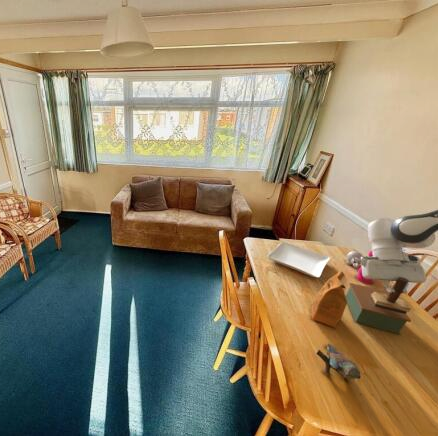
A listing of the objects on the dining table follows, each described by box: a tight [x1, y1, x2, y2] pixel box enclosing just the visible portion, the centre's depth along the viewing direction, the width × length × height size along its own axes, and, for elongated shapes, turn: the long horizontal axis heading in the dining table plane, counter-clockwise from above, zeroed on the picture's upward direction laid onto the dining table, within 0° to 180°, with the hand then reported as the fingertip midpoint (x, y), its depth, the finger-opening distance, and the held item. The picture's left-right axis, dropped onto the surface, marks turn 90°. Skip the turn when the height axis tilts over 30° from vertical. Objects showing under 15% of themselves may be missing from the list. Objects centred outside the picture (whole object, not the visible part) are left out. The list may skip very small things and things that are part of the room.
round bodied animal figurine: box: [344, 250, 364, 269], centre depth 132 cm, size 7×12×8 cm, turn 146°
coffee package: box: [310, 270, 348, 328], centre depth 97 cm, size 10×12×22 cm
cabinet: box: [345, 282, 412, 334], centre depth 101 cm, size 16×17×8 cm
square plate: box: [266, 241, 331, 278], centre depth 138 cm, size 27×27×4 cm
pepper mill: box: [356, 250, 374, 284], centre depth 119 cm, size 7×7×20 cm
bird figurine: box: [315, 343, 362, 380], centre depth 78 cm, size 13×10×20 cm
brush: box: [371, 277, 411, 314], centre depth 89 cm, size 10×5×14 cm, turn 65°
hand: (397, 292), depth 88 cm, fingers closed on brush, 3 cm apart
